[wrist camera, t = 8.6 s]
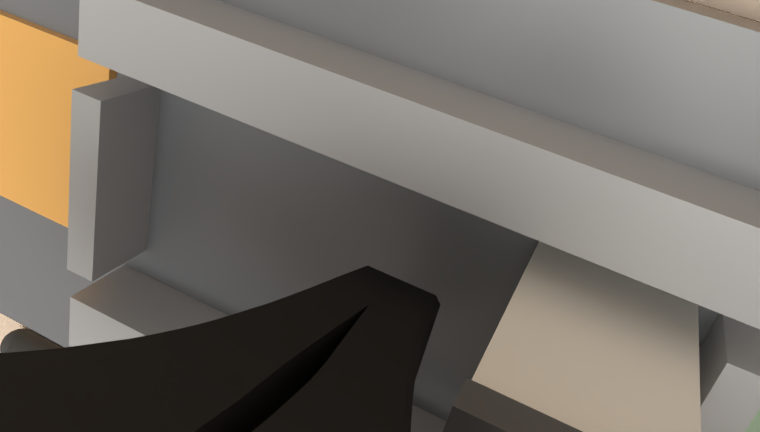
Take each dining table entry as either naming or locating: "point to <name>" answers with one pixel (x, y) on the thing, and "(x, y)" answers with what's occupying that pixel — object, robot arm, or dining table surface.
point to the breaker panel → (379, 164)
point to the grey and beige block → (585, 356)
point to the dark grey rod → (25, 342)
